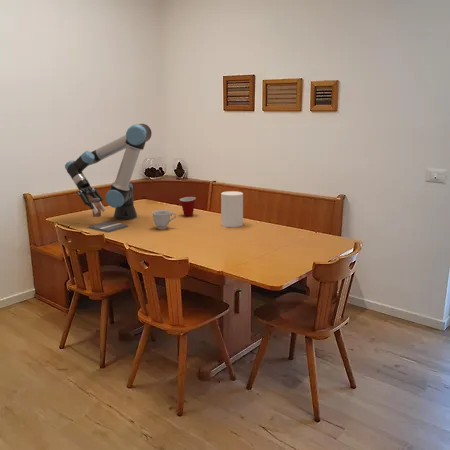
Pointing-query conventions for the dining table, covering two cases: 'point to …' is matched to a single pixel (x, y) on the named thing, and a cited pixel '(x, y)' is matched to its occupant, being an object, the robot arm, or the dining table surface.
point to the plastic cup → (188, 205)
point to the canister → (232, 209)
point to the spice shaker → (97, 204)
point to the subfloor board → (108, 226)
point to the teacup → (162, 218)
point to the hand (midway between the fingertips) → (100, 211)
